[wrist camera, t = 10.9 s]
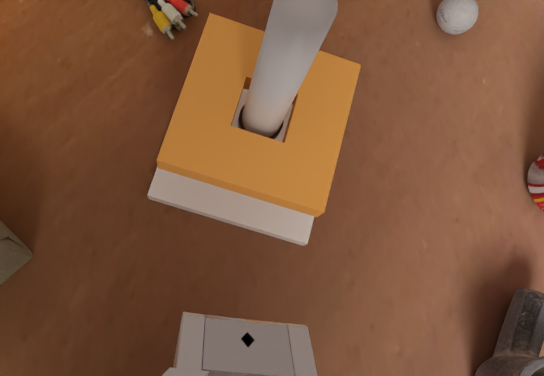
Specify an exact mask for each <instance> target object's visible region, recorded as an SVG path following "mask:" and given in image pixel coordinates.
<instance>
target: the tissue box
mask: <svg viewBox="0 0 544 376" xmlns="http://www.w3.org/2000/svg"><path fill="white" fill-rule="evenodd" d="M32 257H33V253H32V252H31V251H30V250H29V249H28V248H27V246H26V245H25V244H24V243H23V242H22V241H21V240H20V239H19V238H18V237H17V236H16V235H15V234H14V233H13V232H12V231H11V230H10V229H9V228H8V227H7V226H6V225H5V224H4V223H3V222H2V221H1V220H0V285H1V284H3V283H4V282H5V281H6V280H7V279H8V278H10V277H11V276H12V275H13V274H14V273H15V272H16V271H18V270H19V269H20V268H21V267H22V266H23V265H24V264H26V263H27V262H28V261H29V260H30V259H31V258H32Z"/></svg>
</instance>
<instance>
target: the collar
mask: <svg viewBox="0 0 544 376" xmlns="http://www.w3.org/2000/svg"><path fill="white" fill-rule="evenodd" d="M264 33H265V31H262V30H259V29H256V28H253V27H250V26H247V25H244V24H241V23H239V22H236V21H233V20H230V19H227V18H224V17H221V16H218V15H215V14H212V13H210V14H209V16H208V19H207V22H206V25H205V27H204V30H203V33H202V36H201V38H200V41H199V44H198V47H197V49H196V52H195V55H194V58H193V60H192V63H191V66H190V69H189V72H188V74H187V77H186V80H185V83H184V85H183V88H182V91H181V94H180V96H179V99H178V102H177V105H176V107H175V110H174V113H173V116H172V118H171V121H170V124H169V127H168V130H167V132H166V135H165V138H164V141H163V143H162V146H161V149H160V152H159V154H158V157H157V165H158V168H159V169H162V170H166V171H169V172H172V173H175V174H179V175H182V176H185V177H188V178H192V179H195V180H198V181H201V182H204V183H208V184H211V185H214V186H217V187H221V188H224V189H227V190H230V191H234V192H237V193H240V194H243V195H246V196H250V197H253V198H256V199H259V200H263V201H266V202H269V203H272V204H275V205H279V206H282V207H285V208H288V209H292V210H295V211H298V212H301V213H305V214H308V215H311V216H314V217H318V216H320V215H321V214H323V213H324V212H325V208H326V204H327V200H328V196H329V192H330V188H331V184H332V180H333V176H334V172H335V168H336V164H337V160H338V155H339V151H340V147H341V143H342V139H343V135H344V131H345V127H346V123H347V119H348V115H349V111H350V107H351V103H352V99H353V95H354V91H355V87H356V83H357V79H358V75H359V71H360V67H361V64H358V63H355V62H352V61H349V60H346V59H343V58H340V57H337V56H334V55H332V54H329V53H326V52H323V51H320V50H319V51H318V53H317V55H316V57H315V59H314V61H313V63H312V64H311V66H310V68H309V70H308V72H307V74H306V76H305V78H304V80H303V82H302V84H301V86H300V88H299V90H298V92H297V94H296V96H295V98H294V100H293V102H292V105H293V106H292V110H291V113H290V117H289V120H288V124H287V127H286V131H285V134H284V138H283V141H282V142H280V141H277V140H274V139H271V138H268V137H265V136H262V135H258V134H255V133H252V132H249V131H246V130H243V129H240V128H237V127H234V126H231V125H232V122H233V119H234V116H235V113H236V110H237V107H238V104H239V101H240V98H241V94H242V91H243V88H244V89H247V90H249V88H250V84H251V80H252V77H253V73H254V69H255V66H256V62H257V59H258V55H259V51H260V48H261V44H262V40H263V37H264Z"/></svg>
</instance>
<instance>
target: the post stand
mask: <svg viewBox="0 0 544 376" xmlns="http://www.w3.org/2000/svg"><path fill="white" fill-rule="evenodd" d="M337 10H338V4H337V0H273V4H272V8H271V11H270V15H269V19H268V22H267V26H266V30H265V33H264V37H263V40H262V44H261V48H260V51H259V55H258V59H257V62H256V66H255V69H254V73H253V77H252V80H251V84H250V88H249V90H247V89H244V88H243V91H242V94H241V98H240V101H239V104H238V107H237V110H236V113H235V116H234V119H233V122H232V125H231V126H234V127H237V128H240V129H243V130H246V131H249V132H252V133H255V134H258V135H262V136H265V137H268V138H271V139H274V140H277V141H280V142H282V141H283V138H284V134H285V131H286V127H287V124H288V120H289V117H290V113H291V110H292V106H293V105H292V102H293V100H294V98H295V96H296V94H297V92H298V90H299V88H300V86H301V84H302V82H303V80H304V78H305V76H306V74H307V72H308V70H309V68H310V66H311V64H312V63H313V61H314V59H315V57H316V55H317V53H318V51H319V49H320V47H321V45H322V43H323V41H324V39H325V37H326V35H327V33H328V31H329V29H330V27H331V25H332V23H333V21H334V19H335V17H336V15H337ZM147 196H148V199H150V200H153V201H156V202H160V203H163V204H166V205H170V206H173V207H176V208H179V209H183V210H186V211H189V212H193V213H196V214H199V215H203V216H206V217H209V218H213V219H216V220H219V221H222V222H226V223H229V224H232V225H236V226H239V227H242V228H246V229H249V230H252V231H255V232H259V233H262V234H265V235H269V236H272V237H275V238H279V239H282V240H285V241H288V242H292V243H295V244H298V245H302V246H305V245H306V244H308V240H309V236H310V232H311V228H312V224H313V220H314V216H311V215H308V214H305V213H301V212H298V211H295V210H292V209H288V208H285V207H282V206H279V205H275V204H272V203H269V202H266V201H263V200H259V199H256V198H253V197H250V196H246V195H243V194H240V193H237V192H234V191H230V190H227V189H224V188H221V187H217V186H214V185H211V184H208V183H204V182H201V181H198V180H195V179H192V178H188V177H185V176H182V175H179V174H175V173H172V172H169V171H166V170H162V169H159V168H158V166H157V169H156V172H155V175H154V178H153V180H152V183H151V186H150V189H149V191H148V194H147Z"/></svg>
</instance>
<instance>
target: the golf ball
mask: <svg viewBox="0 0 544 376" xmlns="http://www.w3.org/2000/svg"><path fill="white" fill-rule="evenodd" d="M477 17H478V5H477V2H476V1H475V0H443V1H442V2H441V3H440V5H439V6H438V9H437V13H436V20H437V23H438V25H439V27H440V28H441V29H442V30H443V31H445V32H446V33H449V34H461V33H463V32H466V31H467V30H469V29H470V28H471V27H472V26H473V25H474V23H475V22H476V20H477Z"/></svg>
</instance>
